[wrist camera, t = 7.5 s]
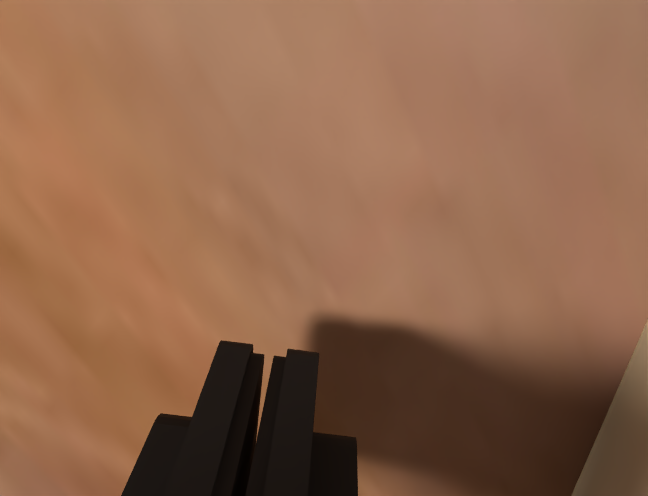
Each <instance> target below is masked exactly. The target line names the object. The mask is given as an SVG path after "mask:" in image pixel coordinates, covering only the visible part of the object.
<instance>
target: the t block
mask: <svg viewBox="0 0 648 496" xmlns="http://www.w3.org/2000/svg"><path fill="white" fill-rule="evenodd" d="M571 496H648V320H647V323H646V325H645V327H644V329H643V332H642V334H641V336H640V339H639V341H638V343H637V346H636V348H635V350H634V352H633V355H632V357H631V359H630V362H629V364H628V366H627V369H626V371H625V373H624V375H623V378H622V380H621V382H620V385H619V387H618V389H617V392H616V394H615V396H614V398H613V401H612V403H611V405H610V408H609V410H608V412H607V415H606V417H605V419H604V422H603V424H602V426H601V428H600V431H599V433H598V435H597V438H596V440H595V442H594V445H593V447H592V449H591V451H590V454H589V456H588V458H587V461H586V463H585V465H584V468H583V470H582V472H581V474H580V477H579V479H578V481H577V484H576V486H575V488H574V491H573V493H572V495H571Z"/></svg>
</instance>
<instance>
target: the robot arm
mask: <svg viewBox="0 0 648 496" xmlns="http://www.w3.org/2000/svg"><path fill="white" fill-rule="evenodd" d="M318 362H319V353H317V352H309V351H301V350H293V349H288V350H287V356H286V357H280V356H274V358H273V363H272V368H271V373H270V377H269V382H268V387H267V392H266V397H265V402H264V407H263V412H262V417H261V422H260V426H259V431H258V436H257V426H258V416H259V406H260V396H261V386H262V375H263V365H264V354H256V353H253V344H246V343H238V342H230V341H222V340H221V341H220V343H219V345H218V348H217V351H216V353H215V356H214V359H213V362H212V364H211V367H210V370H209V373H208V375H207V378H206V381H205V383H204V386H203V389H202V392H201V394H200V397H199V400H198V403H197V405H196V408H195V411H194V413H193V416H192V417H186V416H178V415H170V414H162V413H161V414H160V415H158V417H157V418H156V420H155V422H154V424H153V426H152V428H151V431H150V433H149V435H148V437H147V439H146V442H145V444H144V446H143V448H142V451H141V453H140V455H139V457H138V459H137V462H136V464H135V466H134V468H133V471H132V473H131V475H130V477H129V479H128V482H127V484H126V486H125V488H124V491H123V493H122V495H121V496H358V478H357V441H356V437H348V436H340V435H332V434H323V433H315V432H313V424H314V412H315V399H316V387H317V374H318ZM256 436H257V441H256Z"/></svg>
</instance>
